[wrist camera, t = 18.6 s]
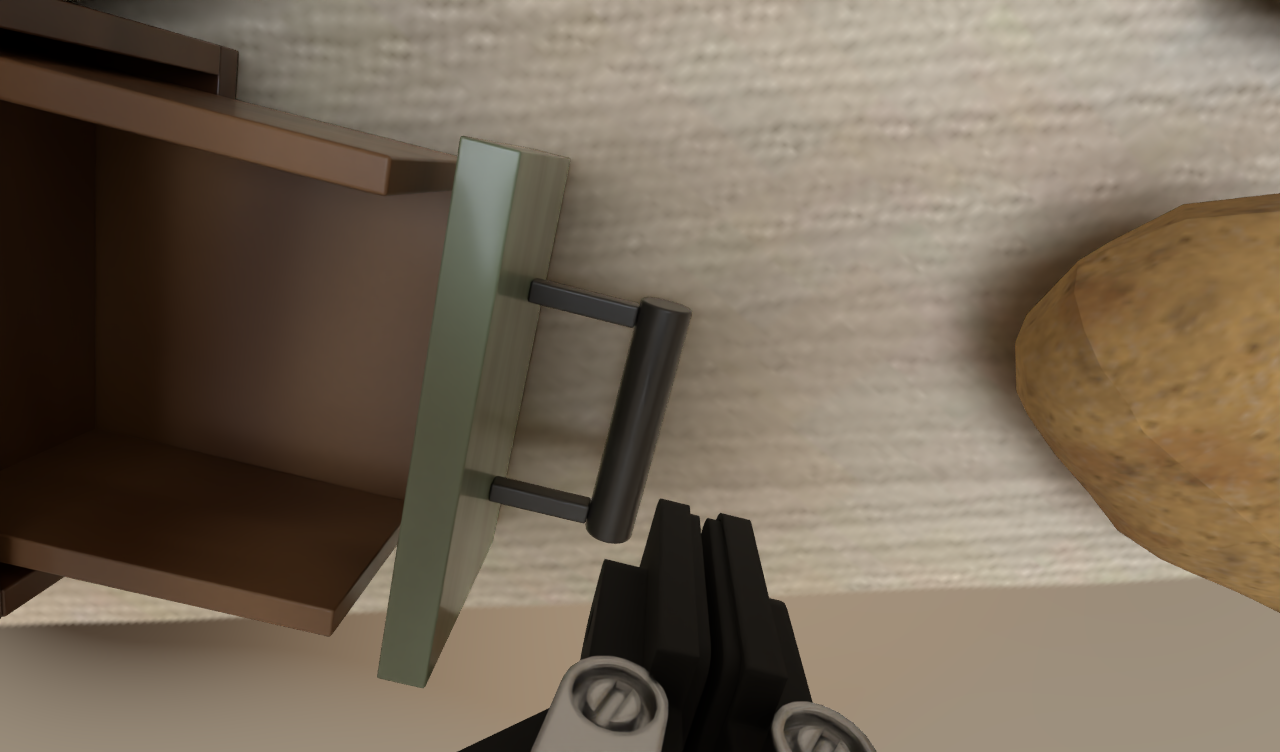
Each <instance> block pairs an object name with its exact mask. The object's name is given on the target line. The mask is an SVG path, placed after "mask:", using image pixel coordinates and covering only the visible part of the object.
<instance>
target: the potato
mask: <svg viewBox="0 0 1280 752" xmlns="http://www.w3.org/2000/svg"><path fill="white" fill-rule="evenodd" d="M1015 361H1016V391H1017V393H1018V396H1019V398H1020V400H1021V402H1022V404H1023V406H1024V408H1025V411H1026V413H1027V415H1028V416H1029V418H1030V419H1031V420H1032V422H1033V423H1034V425H1035V426H1036V428H1037V429H1038V431H1039V432H1040V433H1041V435H1042V436H1043V438H1044V439H1045V441H1046V442H1047V444H1048V445H1049V446H1050V448H1051V449H1052V451H1053V452H1054V454H1055V455H1056V456H1057V457H1058V458H1059V459H1060V460H1061V462H1062V463H1063V464H1064V465H1065V466H1066V467H1067V468H1068V470H1069V471H1070V472H1071V473H1072V474H1073V475H1074V476H1075V478H1076V479H1077V480H1078V481H1079V482H1080V483H1081V484H1082V486H1083V487H1084V488H1085V489H1086V490H1087V491H1088V492H1089V494H1090V495H1091V496H1092V498H1093V499H1094V500H1095V501H1096V503H1097V504H1098V505H1099V507H1100V508H1101V509H1102V511H1103V512H1104V513H1105V515H1106V516H1107V517H1108V518H1109V520H1110V521H1111V522H1112V524H1113V525H1114V526H1115V528H1116V529H1117V530H1118V531H1119V532H1121V533H1122V534H1124V535H1125V536H1127V537H1128V538H1130V539H1131V540H1133V541H1134V542H1136V543H1137V544H1139V545H1140V546H1142V547H1143V548H1145V549H1146V550H1148V551H1149V552H1151V553H1152V554H1154V555H1155V556H1157V557H1158V558H1160V559H1162V560H1164V561H1166V562H1169V563H1171V564H1173V565H1175V566H1178V567H1180V568H1182V569H1184V570H1187V571H1189V572H1191V573H1193V574H1196V575H1198V576H1201V577H1203V578H1205V579H1208V580H1210V581H1213V582H1215V583H1217V584H1220V585H1222V586H1224V587H1227V588H1229V589H1232V590H1234V591H1236V592H1238V593H1240V594H1243V595H1245V596H1247V597H1249V598H1251V599H1253V600H1255V601H1257V602H1259V603H1261V604H1263V605H1265V606H1267V607H1269V608H1271V609H1273V610H1275V611H1277V612H1279V613H1280V193H1279V194H1270V195H1262V196H1253V197H1244V198H1235V199H1226V200H1218V201H1209V202H1200V203H1191V204H1183V205H1181V206H1179V207H1177V208H1175V209H1173V210H1171V211H1170V212H1168V213H1166V214H1164V215H1162V216H1160V217H1158V218H1156V219H1154V220H1152V221H1150V222H1148V223H1146V224H1144V225H1142V226H1140V227H1138V228H1136V229H1134V230H1132V231H1130V232H1128V233H1126V234H1124V235H1122V236H1120V237H1118V238H1116V239H1114V240H1112V241H1110V242H1109V243H1107V244H1105V245H1104V246H1102V247H1100V248H1099V249H1097V250H1095V251H1094V252H1092V253H1090V254H1089V255H1087V256H1085V257H1084V258H1082V259H1080V260H1079V261H1078V262H1077V263H1076V264H1075V265H1074V266H1073V267H1072V268H1071V269H1070V270H1069V271H1068V272H1067V273H1066V274H1065V275H1064V276H1063V277H1062V278H1061V279H1060V280H1059V281H1058V282H1057V284H1056V285H1055V286H1054V287H1053V288H1052V289H1051V290H1050V291H1049V292H1048V293H1047V294H1046V295H1045V296H1044V297H1043V298H1042V299H1041V300H1040V301H1039V302H1038V303H1037V304H1036V305H1035V306H1034V308H1033V309H1032V310H1031V311H1030V312H1029V313H1028V314H1027V315H1026V317H1025V320H1024V322H1023V325H1022V327H1021V329H1020V332H1019V334H1018V337H1017V339H1016V341H1015Z"/></svg>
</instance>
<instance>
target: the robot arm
mask: <svg viewBox="0 0 1280 752" xmlns="http://www.w3.org/2000/svg"><path fill="white" fill-rule="evenodd" d="M458 752H876V750H875V748H874V747H873V745H872V744H871V742H870V741H869V739H868V738H867V736H866V735H865V734H864V733H863V732H862V731H861V730H860V729H859V728H858V727H857V726H856V725H855V724H854V723H853V722H851V721H850V720H848V719H847V718H845V717H844V716H843V715H841V714H840V713H838V712H836V711H834V710H832V709H830V708H827V707H825V706H823V705H819V704H815V703H813V702H812V699H811V695H810V691H809V688H808V684H807V680H806V677H805V673H804V669H803V666H802V662H801V658H800V655H799V651H798V647H797V644H796V640H795V637H794V632H793V629H792V625H791V621H790V618H789V614H788V611H787V608H786V605H785V603H783V602H782V601H779V600H775V599H771V598H769V596H768V592H767V587H766V583H765V579H764V575H763V571H762V566H761V562H760V558H759V554H758V549H757V545H756V541H755V537H754V533H753V528H752V524H751V521H750V520H747V519H743V518H739V517H735V516H731V515H727V514H722V513H720V514H719V515H718V517H717V519H716V520H714V519H709V518H707V519H706V521H705V523H704V526H703V529H702V533H701V528H700V518H699V516H697V515H693V514H690V506H689V505H685V504H681V503H677V502H673V501H669V500H664V499H660V500H659V502H658V504H657V507H656V511H655V514H654V518H653V521H652V525H651V528H650V532H649V536H648V539H647V543H646V546H645V550H644V553H643V557H642V560H641V564H640V567H636V566H632V565H628V564H623V563H619V562H615V561H611V560H607V559H604V562H603V565H602V568H601V572H600V576H599V580H598V583H597V587H596V591H595V595H594V599H593V603H592V607H591V611H590V615H589V619H588V624H587V628H586V633H585V638H584V643H583V648H582V653H581V659H580V661H579V662H577V663H576V664H574V665H572V666H571V667H570V668H569V669H568V671H567V672H566V674H565V675H564V676H563V678H562V680H561V683H560V685H559V687H558V690H557V692H556V694H555V697H554V699H553V701H552V704H551V706H550V708H548V709H546V710H544V711H542V712H540V713H538V714H536V715H534V716H532V717H530V718H527V719H525V720H523V721H521V722H519V723H517V724H515V725H513V726H511V727H509V728H506V729H504V730H502V731H500V732H498V733H496V734H494V735H492V736H490V737H487V738H485V739H483V740H481V741H479V742H477V743H475V744H473V745H471V746H468V747H466V748H464V749H462V750H460V751H458Z"/></svg>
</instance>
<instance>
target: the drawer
mask: <svg viewBox="0 0 1280 752" xmlns="http://www.w3.org/2000/svg"><path fill="white" fill-rule="evenodd" d="M569 165H570V159H569V158H566V157H563V156H559V155H555V154H551V153H547V152H543V151H539V150H535V149H531V148H526V147H521V146H515V145H510V144H504V143H499V142H494V141H488V140H483V139H478V138H472V137H467V136H461V138H460V143H459V149H458V156H454V155H451V154H447V153H443V152H439V151H435V150H431V149H427V148H423V147H419V146H415V145H411V144H407V143H404V142H400V141H396V140H392V139H388V138H384V137H380V136H376V135H372V134H368V133H364V132H360V131H356V130H353V129H349V128H345V127H341V126H337V125H333V124H329V123H325V122H321V121H317V120H313V119H309V118H306V117H302V116H298V115H294V114H290V113H286V112H282V111H278V110H274V109H270V108H266V107H262V106H258V105H255V104H251V103H247V102H243V101H239V100H235V99H231V98H227V97H223V96H219V95H215V94H211V93H208V92H204V91H200V90H196V89H192V88H188V87H184V86H180V85H176V84H172V83H168V82H164V81H160V80H157V79H153V78H149V77H145V76H141V75H137V74H133V73H129V72H125V71H121V70H117V69H113V68H110V67H106V66H102V65H98V64H94V63H89V62H84V61H79V60H74V59H68V58H63V57H58V56H53V55H47V54H42V53H37V52H32V51H27V50H21V49H16V48H11V47H6V46H1V45H0V562H3V563H7V564H12V565H16V566H20V567H25V568H29V569H34V570H38V571H42V572H47V573H51V574H56V575H60V576H64V577H69V578H73V579H78V580H82V581H86V582H91V583H95V584H100V585H104V586H108V587H113V588H117V589H122V590H126V591H130V592H135V593H139V594H144V595H148V596H152V597H157V598H161V599H166V600H170V601H174V602H179V603H183V604H188V605H192V606H196V607H201V608H205V609H210V610H214V611H218V612H223V613H227V614H232V615H236V616H240V617H245V618H249V619H254V620H258V621H262V622H267V623H271V624H275V625H280V626H284V627H289V628H293V629H297V630H302V631H306V632H311V633H315V634H319V635H324V636H331V635H332V634H333V632H334V631H335V630H336V628H337V627H338V625H339V624H340V623H341V621H342V620H343V618H344V617H345V616H346V614H347V613H348V612H349V610H350V609H351V607H352V606H353V605H354V603H355V602H356V601H357V599H358V598H359V596H360V595H361V594H362V592H363V591H364V589H365V588H366V587H367V585H368V584H369V583H370V581H371V580H372V578H373V577H374V576H375V574H376V573H377V571H378V570H379V569H380V567H381V566H382V565H383V563H384V562H385V560H386V559H387V558H388V556H389V555H390V554H391V552H392V551H393V549H394V548H395V547H396V545H397V551H396V557H395V564H394V570H393V577H392V583H391V590H390V596H389V603H388V609H387V616H386V622H385V629H384V635H383V642H382V648H381V655H380V661H379V668H378V674H377V677H378V678H380V679H385V680H388V681H393V682H397V683H402V684H406V685H411V686H416V687H420V688H424V687H425V686H426V684H427V681H428V679H429V677H430V675H431V673H432V671H433V668H434V666H435V664H436V662H437V660H438V658H439V656H440V654H441V652H442V649H443V647H444V645H445V643H446V641H447V639H448V637H449V634H450V632H451V630H452V628H453V626H454V624H455V622H456V619H457V617H458V615H459V613H460V611H461V609H462V607H463V605H464V602H465V600H466V598H467V596H468V594H469V592H470V590H471V588H472V585H473V583H474V581H475V579H476V577H477V575H478V573H479V570H480V568H481V566H482V564H483V562H484V560H485V558H486V555H487V553H488V551H489V549H490V547H491V545H492V543H493V539H494V534H495V529H496V524H497V519H498V514H499V509H500V504H504V505H508V506H512V507H517V508H521V509H525V510H529V511H534V512H538V513H542V514H546V515H550V516H555V517H559V518H563V519H567V520H572V521H576V522H580V523H585V522H586V524H585V526H586V530H587V531H588V533H589V534H590V535H591V536H593V537H594V538H596V539H598V540H600V541H603V542H606V543H614V544H617V543H623V542H626V541H627V540H628V539H629V538H630V537H631V535H632V531H633V528H634V524H635V520H636V517H637V513H638V509H639V506H640V502H641V498H642V495H643V491H644V487H645V484H646V480H647V476H648V473H649V469H650V465H651V462H652V458H653V454H654V451H655V447H656V444H657V440H658V436H659V433H660V429H661V425H662V422H663V418H664V414H665V411H666V407H667V403H668V400H669V396H670V392H671V389H672V385H673V381H674V378H675V374H676V370H677V367H678V363H679V359H680V356H681V352H682V349H683V345H684V341H685V338H686V334H687V330H688V327H689V323H690V319H691V316H692V311H691V310H690V309H689V308H687V307H686V306H684V305H681V304H679V303H676V302H673V301H669V300H665V299H660V298H653V297H646V298H642V300H641V302H640V306H639V304H638V303H636V302H632V301H628V300H624V299H620V298H616V297H612V296H608V295H604V294H600V293H596V292H592V291H588V290H584V289H580V288H576V287H572V286H568V285H564V284H560V283H556V282H552V281H548V280H546V278H547V273H548V268H549V263H550V258H551V253H552V248H553V244H554V239H555V234H556V229H557V224H558V219H559V214H560V209H561V204H562V199H563V194H564V189H565V184H566V180H567V175H568V170H569ZM541 305H542V306H546V307H550V308H554V309H558V310H562V311H566V312H570V313H574V314H578V315H582V316H586V317H590V318H594V319H598V320H602V321H606V322H610V323H614V324H618V325H622V326H626V327H630V328H633V327H634V330H633V334H632V338H631V342H630V346H629V350H628V354H627V359H626V363H625V367H624V371H623V375H622V379H621V383H620V387H619V391H618V395H617V399H616V403H615V407H614V411H613V415H612V419H611V423H610V427H609V431H608V435H607V439H606V443H605V447H604V451H603V455H602V459H601V463H600V467H599V471H598V475H597V479H596V483H595V487H594V491H593V495H592V499H591V498H589V497H585V496H581V495H576V494H572V493H568V492H564V491H560V490H555V489H551V488H547V487H543V486H539V485H534V484H530V483H526V482H522V481H518V480H513V479H509V478H506V475H507V470H508V465H509V460H510V455H511V450H512V445H513V440H514V435H515V430H516V426H517V421H518V416H519V411H520V406H521V401H522V396H523V391H524V386H525V381H526V376H527V371H528V367H529V362H530V357H531V352H532V347H533V342H534V337H535V332H536V327H537V322H538V317H539V312H540V307H541Z"/></svg>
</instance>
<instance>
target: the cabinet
mask: <svg viewBox="0 0 1280 752" xmlns="http://www.w3.org/2000/svg"><path fill="white" fill-rule="evenodd" d="M0 45H1V46H6V47H11V48H16V49H21V50H27V51H32V52H37V53H42V54H47V55H53V56H58V57H63V58H68V59H74V60H79V61H84V62H89V63H94V64H98V65H102V66H106V67H110V68H113V69H117V70H121V71H125V72H129V73H133V74H137V75H141V76H145V77H149V78H153V79H157V80H160V81H164V82H168V83H172V84H176V85H180V86H184V87H188V88H192V89H196V90H200V91H204V92H208V93H211V94H215V95H219V96H223V97H227V98H231V99H235V93H236V76H237V58H238V51H237V50H234V49H230V48H227V47H223V46H220V45H217V44H213V43H210V42H206V41H203V40H199V39H196V38H192V37H189V36H185V35H182V34H178V33H175V32H171V31H168V30H164V29H161V28H157V27H154V26H150V25H147V24H143V23H140V22H136V21H133V20H129V19H126V18H123V17H119V16H116V15H112V14H109V13H105V12H102V11H98V10H95V9H91V8H88V7H84V6H81V5H77V4H74V3H70V2H67V1H63V0H0ZM63 577H64V576H60V575H56V574H51V573H47V572H42V571H38V570H34V569H29V568H25V567H20V566H16V565H12V564H7V563H3V562H0V619H1V617H4V616H7V615H8V614H10V613H11V612H13V611H14V610H15V609H17V608H18V607H20V606H21V605H23V604H24V603H26V602H27V601H29V600H30V599H32V598H33V597H35V596H36V595H38V594H39V593H41V592H42V591H44V590H45V589H47V588H48V587H50V586H51V585H53V584H54V583H56V582H57V581H59V580H60V579H62V578H63Z"/></svg>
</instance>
